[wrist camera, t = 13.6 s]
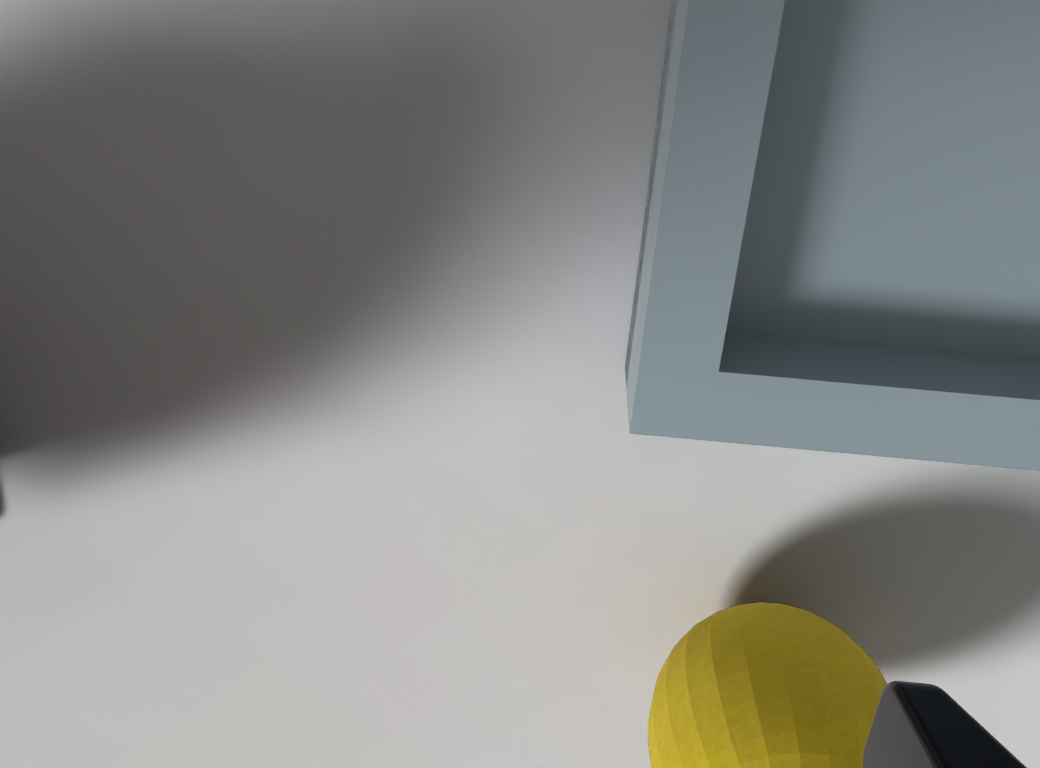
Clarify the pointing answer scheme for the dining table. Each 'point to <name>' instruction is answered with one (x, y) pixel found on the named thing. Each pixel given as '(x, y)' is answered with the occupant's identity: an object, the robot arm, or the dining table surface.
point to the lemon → (764, 693)
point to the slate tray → (845, 230)
